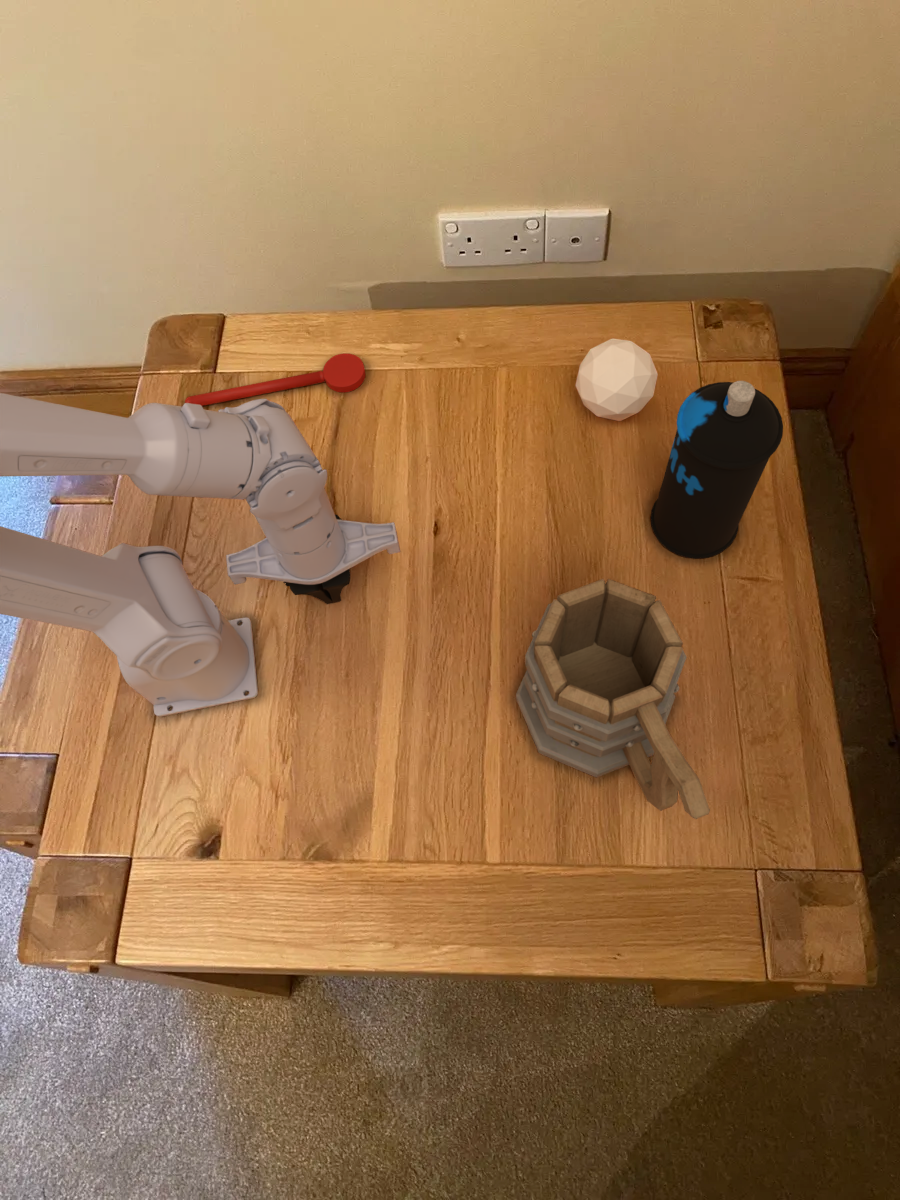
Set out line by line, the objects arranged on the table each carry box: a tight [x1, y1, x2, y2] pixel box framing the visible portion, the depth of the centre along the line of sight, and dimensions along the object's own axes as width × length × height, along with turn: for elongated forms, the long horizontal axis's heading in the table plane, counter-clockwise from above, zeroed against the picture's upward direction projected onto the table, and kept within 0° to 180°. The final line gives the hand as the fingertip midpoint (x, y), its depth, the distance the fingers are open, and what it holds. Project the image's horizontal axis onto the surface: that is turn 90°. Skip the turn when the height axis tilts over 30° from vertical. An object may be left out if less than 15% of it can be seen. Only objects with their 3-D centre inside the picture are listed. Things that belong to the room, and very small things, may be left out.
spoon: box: [184, 352, 366, 407], centre depth 94 cm, size 19×4×1 cm, turn 100°
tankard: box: [515, 578, 711, 820], centre depth 70 cm, size 20×13×15 cm, turn 21°
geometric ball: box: [575, 338, 659, 422], centre depth 87 cm, size 8×8×8 cm
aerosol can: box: [650, 380, 784, 560], centre depth 75 cm, size 8×8×20 cm
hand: (332, 593), depth 83 cm, fingers closed, pressing on tape measure
